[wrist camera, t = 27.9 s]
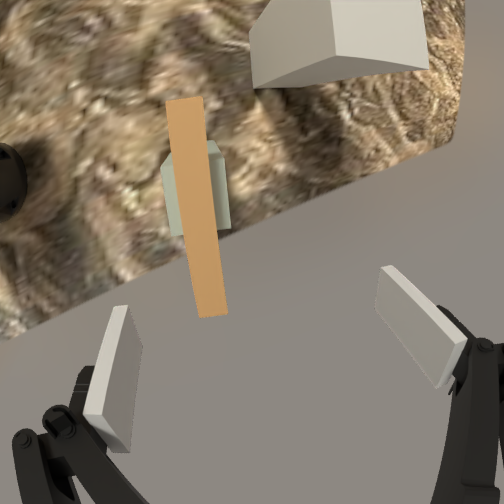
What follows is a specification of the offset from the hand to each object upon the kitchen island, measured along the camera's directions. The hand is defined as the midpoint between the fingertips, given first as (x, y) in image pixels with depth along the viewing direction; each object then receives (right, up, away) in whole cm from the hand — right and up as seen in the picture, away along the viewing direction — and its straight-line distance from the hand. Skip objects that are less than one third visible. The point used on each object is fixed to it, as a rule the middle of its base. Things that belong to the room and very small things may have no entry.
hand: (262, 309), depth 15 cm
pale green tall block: (-9, +17, +34) cm, 39 cm away
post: (+3, +34, +28) cm, 44 cm away
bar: (-6, +7, +14) cm, 17 cm away
